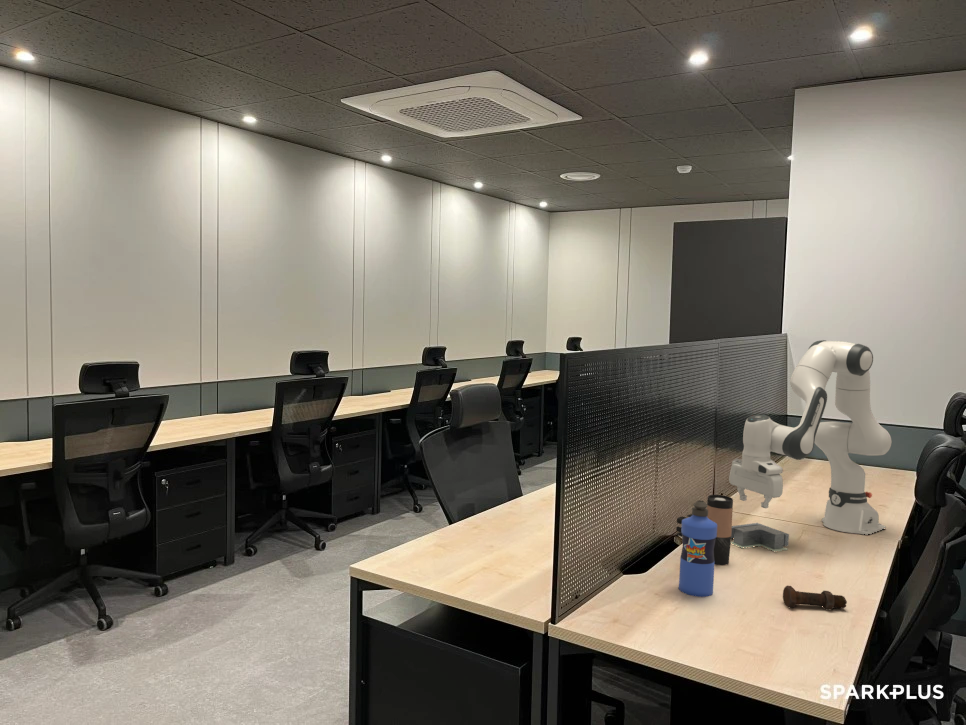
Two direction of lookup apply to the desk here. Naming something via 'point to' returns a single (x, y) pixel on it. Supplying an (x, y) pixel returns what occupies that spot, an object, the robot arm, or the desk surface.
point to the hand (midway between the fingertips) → (753, 503)
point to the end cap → (679, 520)
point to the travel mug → (721, 525)
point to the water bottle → (697, 552)
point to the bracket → (758, 536)
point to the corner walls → (786, 536)
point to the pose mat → (761, 545)
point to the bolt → (812, 599)
